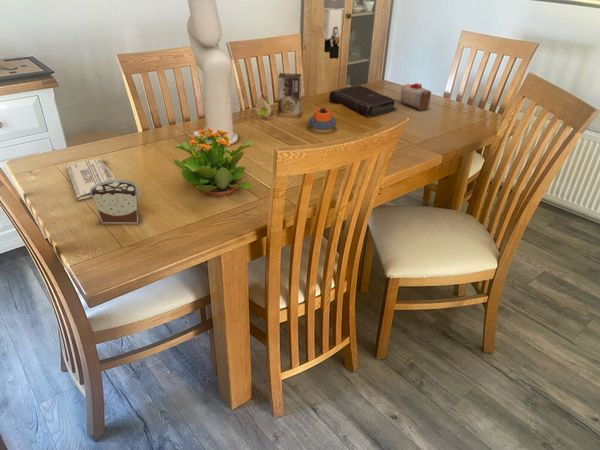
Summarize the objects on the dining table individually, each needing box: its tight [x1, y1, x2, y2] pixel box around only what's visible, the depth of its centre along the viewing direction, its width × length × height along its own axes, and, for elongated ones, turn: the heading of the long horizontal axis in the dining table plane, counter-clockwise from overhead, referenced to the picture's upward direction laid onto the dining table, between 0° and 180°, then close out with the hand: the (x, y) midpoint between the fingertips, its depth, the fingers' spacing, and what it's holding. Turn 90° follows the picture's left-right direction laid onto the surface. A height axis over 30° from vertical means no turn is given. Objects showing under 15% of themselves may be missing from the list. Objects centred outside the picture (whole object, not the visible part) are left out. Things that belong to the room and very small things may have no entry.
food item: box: [400, 82, 432, 111], centre depth 208 cm, size 14×8×10 cm, turn 33°
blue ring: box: [308, 115, 337, 131], centre depth 182 cm, size 10×10×2 cm
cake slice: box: [89, 178, 141, 225], centre depth 122 cm, size 12×6×10 cm, turn 92°
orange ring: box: [313, 108, 333, 122], centre depth 181 cm, size 6×6×3 cm
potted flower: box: [172, 128, 254, 197], centre depth 135 cm, size 25×24×18 cm
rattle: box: [255, 90, 272, 118], centre depth 190 cm, size 8×8×12 cm
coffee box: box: [277, 72, 302, 115], centre depth 193 cm, size 9×6×16 cm
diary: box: [328, 84, 399, 118], centre depth 207 cm, size 19×25×5 cm
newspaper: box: [66, 157, 117, 201], centre depth 142 cm, size 23×12×2 cm, turn 30°
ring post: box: [309, 107, 336, 131], centre depth 182 cm, size 10×10×8 cm
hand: (331, 55), depth 173 cm, fingers open, 9 cm apart
